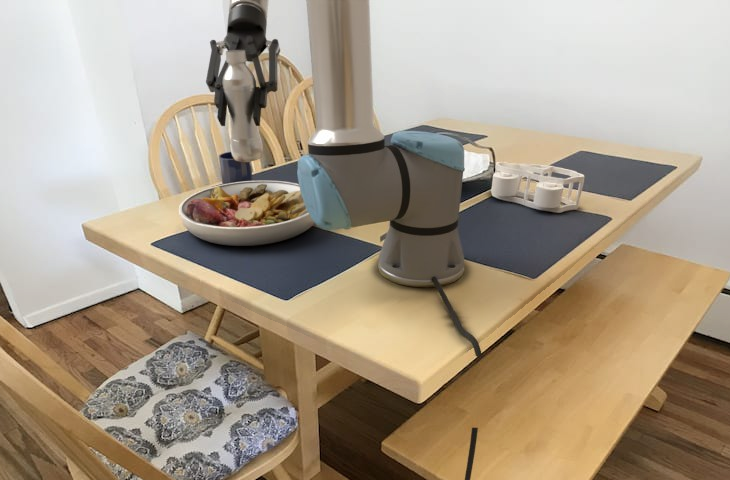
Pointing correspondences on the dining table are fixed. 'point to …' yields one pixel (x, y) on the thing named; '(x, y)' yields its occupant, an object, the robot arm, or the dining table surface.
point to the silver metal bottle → (241, 108)
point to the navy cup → (234, 169)
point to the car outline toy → (546, 189)
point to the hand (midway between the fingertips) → (238, 121)
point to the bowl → (246, 213)
